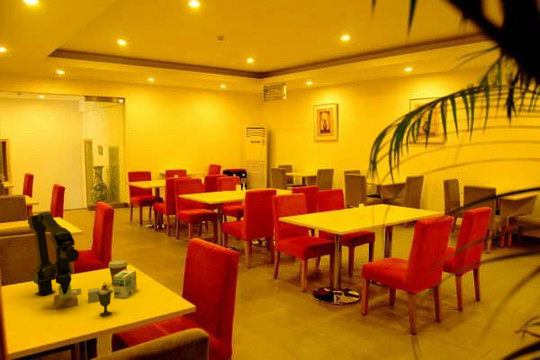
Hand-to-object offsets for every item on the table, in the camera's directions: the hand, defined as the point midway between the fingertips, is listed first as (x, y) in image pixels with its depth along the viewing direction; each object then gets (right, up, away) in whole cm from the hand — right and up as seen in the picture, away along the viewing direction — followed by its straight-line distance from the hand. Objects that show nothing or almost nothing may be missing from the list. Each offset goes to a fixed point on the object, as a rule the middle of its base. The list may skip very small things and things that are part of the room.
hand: (65, 290), depth 191 cm
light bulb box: (+24, -5, +12) cm, 27 cm away
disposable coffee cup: (+15, -4, +26) cm, 31 cm away
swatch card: (-4, -5, +15) cm, 16 cm away
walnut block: (0, -7, +1) cm, 7 cm away
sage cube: (0, -3, 0) cm, 3 cm away
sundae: (+23, -8, -11) cm, 27 cm away
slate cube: (+11, -6, +5) cm, 14 cm away
